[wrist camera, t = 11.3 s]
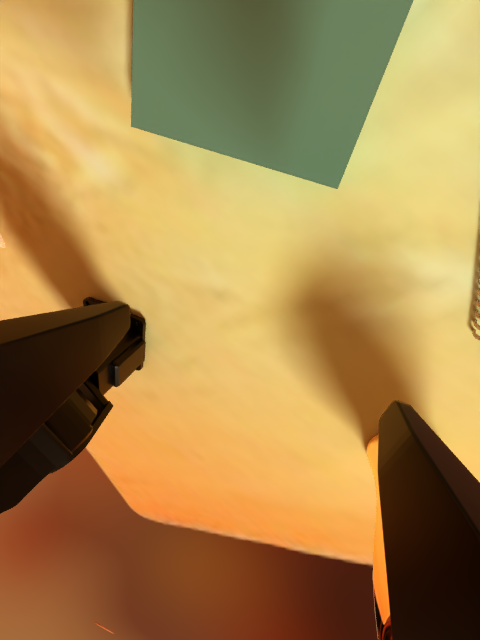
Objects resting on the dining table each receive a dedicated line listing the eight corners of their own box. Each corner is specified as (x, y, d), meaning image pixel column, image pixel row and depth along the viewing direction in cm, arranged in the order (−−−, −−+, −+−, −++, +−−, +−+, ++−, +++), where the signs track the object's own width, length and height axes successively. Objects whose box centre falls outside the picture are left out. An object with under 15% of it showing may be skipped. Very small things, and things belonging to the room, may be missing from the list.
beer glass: (346, 436, 25) (354, 705, 13) (427, 414, 21) (554, 762, 9) (385, 484, 26) (429, 768, 14) (468, 471, 23) (627, 840, 10)
